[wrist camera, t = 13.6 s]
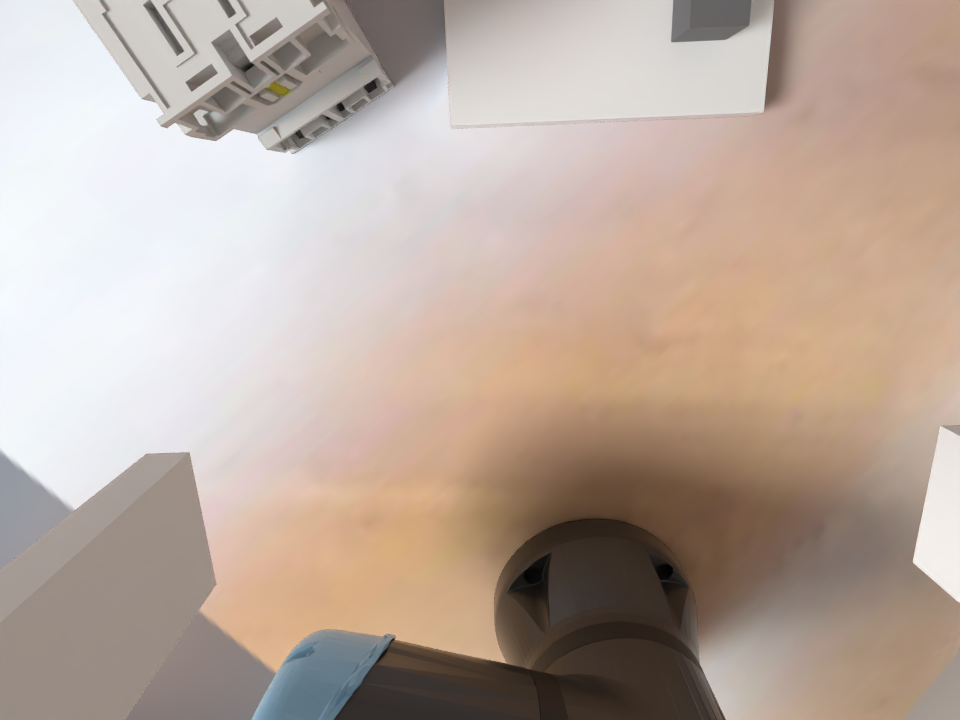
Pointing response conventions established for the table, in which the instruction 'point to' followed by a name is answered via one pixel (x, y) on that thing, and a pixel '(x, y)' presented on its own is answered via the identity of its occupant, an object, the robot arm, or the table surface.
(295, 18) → the circuit breaker
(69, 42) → the table surface
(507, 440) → the table surface
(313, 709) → the robot arm
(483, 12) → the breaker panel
